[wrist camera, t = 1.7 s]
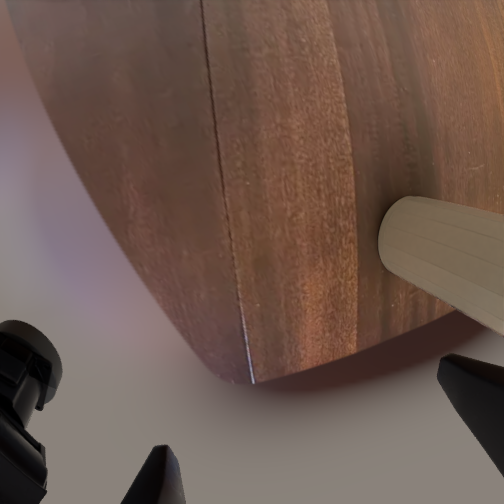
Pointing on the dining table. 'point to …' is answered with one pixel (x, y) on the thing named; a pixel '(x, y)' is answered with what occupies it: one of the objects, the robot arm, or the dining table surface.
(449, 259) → the cup
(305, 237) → the dining table surface
